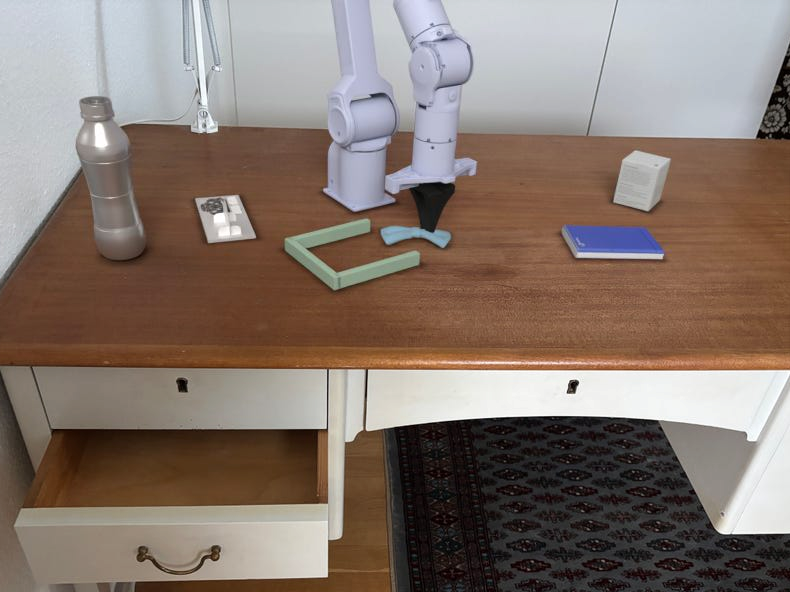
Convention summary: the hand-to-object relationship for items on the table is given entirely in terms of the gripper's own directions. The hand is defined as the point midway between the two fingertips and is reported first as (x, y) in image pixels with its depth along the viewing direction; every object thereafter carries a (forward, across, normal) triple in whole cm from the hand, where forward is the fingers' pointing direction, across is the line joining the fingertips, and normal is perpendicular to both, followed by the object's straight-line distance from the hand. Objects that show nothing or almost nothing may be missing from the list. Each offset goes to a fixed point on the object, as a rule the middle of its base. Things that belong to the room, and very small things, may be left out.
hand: (427, 230), depth 103 cm
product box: (+1, +38, -7) cm, 39 cm away
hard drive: (+1, +21, -16) cm, 27 cm away
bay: (+1, -13, 0) cm, 13 cm away
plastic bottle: (+1, -39, +16) cm, 42 cm away
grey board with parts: (+1, -22, +20) cm, 30 cm away
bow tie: (+1, -2, 0) cm, 2 cm away
